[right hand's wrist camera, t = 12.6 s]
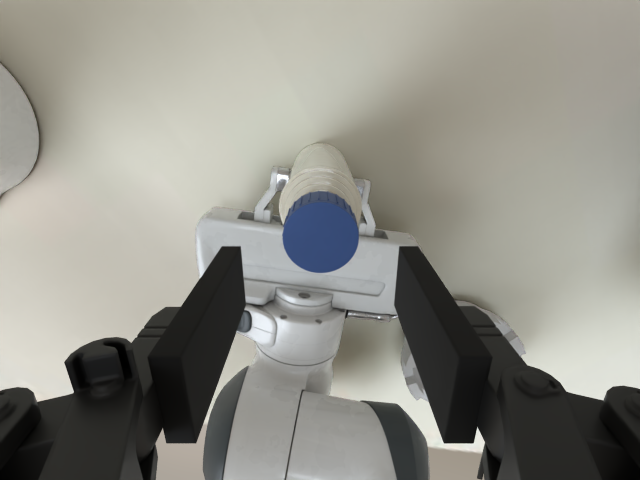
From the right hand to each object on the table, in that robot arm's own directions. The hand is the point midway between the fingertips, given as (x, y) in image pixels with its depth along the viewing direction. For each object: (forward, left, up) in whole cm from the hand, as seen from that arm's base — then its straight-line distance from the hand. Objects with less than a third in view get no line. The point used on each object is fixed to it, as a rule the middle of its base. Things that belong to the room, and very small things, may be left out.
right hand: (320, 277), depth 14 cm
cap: (0, 0, -5) cm, 5 cm away
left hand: (0, -1, -17) cm, 17 cm away
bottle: (0, 0, -23) cm, 23 cm away
